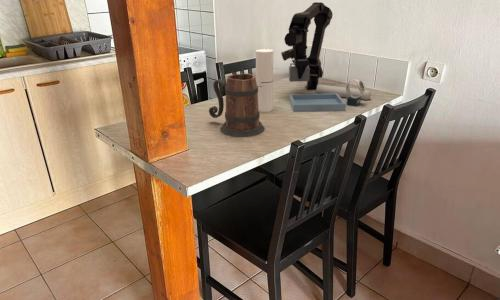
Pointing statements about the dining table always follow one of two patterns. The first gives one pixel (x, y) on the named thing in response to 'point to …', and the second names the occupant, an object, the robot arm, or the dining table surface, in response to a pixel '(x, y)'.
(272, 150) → the dining table surface
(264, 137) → the dining table surface
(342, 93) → the tube
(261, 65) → the cylindrical container
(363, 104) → the dining table surface
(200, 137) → the dining table surface
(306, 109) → the tray
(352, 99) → the watch
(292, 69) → the caddy
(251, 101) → the tankard
